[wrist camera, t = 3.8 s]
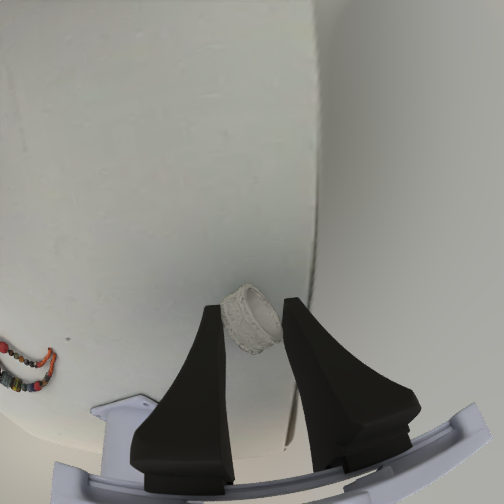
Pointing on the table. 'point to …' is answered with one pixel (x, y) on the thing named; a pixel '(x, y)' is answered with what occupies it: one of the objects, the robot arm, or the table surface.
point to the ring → (251, 320)
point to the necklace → (17, 384)
